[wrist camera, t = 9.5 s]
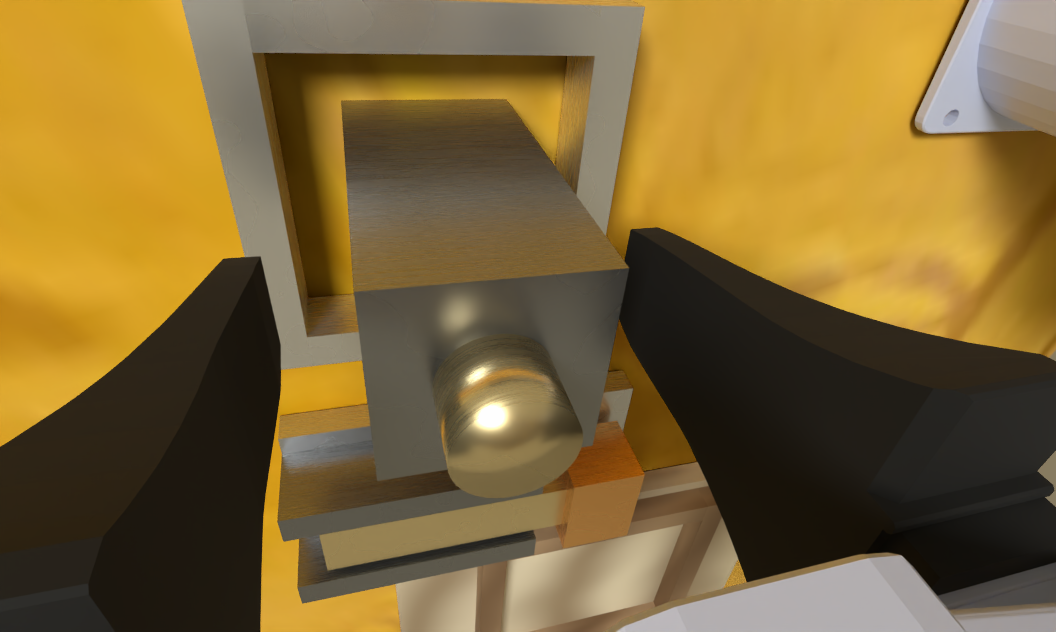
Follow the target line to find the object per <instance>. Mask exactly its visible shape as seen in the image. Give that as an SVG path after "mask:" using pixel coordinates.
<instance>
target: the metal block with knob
mask: <svg viewBox="0 0 1056 632" xmlns="http://www.w3.org/2000/svg"><path fill="white" fill-rule="evenodd" d="M341 106H342V121H343V137H344V152H345V167H346V182H347V197H348V212H349V227H350V242H351V258H352V273H353V288H354V298H355V306H356V314H357V322H358V330H359V338H360V346H361V354H362V362H363V371H364V379H365V387H366V395H367V403H368V411H369V419H370V427H371V435H372V443H373V451H374V459H375V467H376V476H377V481H381V480H387V479H393V478H399V477H405V476H411V475H417V474H423V473H429V472H436V471H442V470H448V473H449V476H450V478H451V479H452V481H453V482H454V483H455V485H456V486H458V487H459V488H460V489H461V490H463V491H465V492H467V493H469V494H472V495H475V496H479V497H485V498H507V497H514V496H518V495H522V494H525V493H529V492H531V491H534V490H537V489H539V488H541V487H543V486H545V485H547V484H548V483H550V482H552V481H553V480H555V479H556V478H558V477H559V476H560V475H561V474H563V473H564V472H565V471H566V470H567V469H568V468H569V467H570V466H571V465H572V463H573V462H574V461H575V459H576V458H577V456H578V454H579V452H580V450H581V447H587V446H593V441H594V436H595V431H596V426H597V422H598V417H599V412H600V407H601V402H602V397H603V393H604V388H605V383H606V378H607V373H608V368H609V364H610V359H611V354H612V349H613V344H614V339H615V335H616V330H617V325H618V320H619V315H620V310H621V306H622V301H623V296H624V291H625V286H626V281H627V277H628V272H629V267H628V266H627V264H626V263H625V262H624V260H623V259H622V257H621V256H620V255H619V253H618V252H617V251H616V249H615V248H614V246H613V245H612V244H611V242H610V241H609V240H608V238H607V237H606V236H605V234H604V233H603V231H602V230H601V229H600V227H599V226H598V225H597V223H596V222H595V220H594V219H593V218H592V216H591V215H590V214H589V212H588V211H587V209H586V208H585V207H584V205H583V204H582V203H581V201H580V200H579V199H578V197H577V196H576V194H575V193H574V192H573V190H572V189H571V188H570V186H569V185H568V183H567V182H566V181H565V179H564V178H563V177H562V175H561V174H560V173H559V171H558V170H557V168H556V167H555V166H554V164H553V163H552V162H551V160H550V159H549V157H548V156H547V155H546V153H545V152H544V151H543V149H542V148H541V146H540V145H539V144H538V142H537V141H536V140H535V138H534V137H533V136H532V134H531V133H530V131H529V130H528V129H527V127H526V126H525V125H524V123H523V122H522V120H521V119H520V118H519V116H518V115H517V114H516V112H515V111H514V109H513V108H512V107H511V105H510V104H509V103H508V101H507V100H506V99H477V100H361V101H341Z"/></svg>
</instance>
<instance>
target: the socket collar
mask: <svg viewBox="0 0 1056 632" xmlns="http://www.w3.org/2000/svg"><path fill="white" fill-rule="evenodd" d="M182 4H183V8H184V12H185V16H186V20H187V24H188V28H189V32H190V36H191V40H192V44H193V48H194V52H195V56H196V60H197V64H198V68H199V72H200V77H201V81H202V85H203V89H204V93H205V97H206V101H207V105H208V109H209V113H210V117H211V121H212V125H213V129H214V133H215V137H216V141H217V145H218V149H219V153H220V157H221V162H222V166H223V170H224V174H225V178H226V182H227V186H228V190H229V194H230V198H231V202H232V206H233V210H234V214H235V218H236V222H237V226H238V230H239V234H240V238H241V242H242V247H243V251H244V255H245V257H255V256H261V260H262V265H263V269H264V274H265V278H266V282H267V287H268V291H269V295H270V300H271V304H272V309H273V313H274V317H275V322H276V326H277V330H278V335H279V339H280V344H281V370H282V369H291V368H299V367H308V366H317V365H325V364H334V363H342V362H351V361H360V360H362V354H361V346H360V338H359V330H358V322H357V314H356V306H355V298H354V294H348V295H336V296H325V297H314V298H308V293H307V287H306V282H305V276H304V271H303V265H302V260H301V254H300V249H299V243H298V238H297V232H296V227H295V221H294V216H293V210H292V205H291V199H290V194H289V188H288V183H287V177H286V172H285V166H284V161H283V155H282V150H281V144H280V138H279V133H278V127H277V122H276V116H275V111H274V105H273V100H272V94H271V89H270V83H269V78H268V72H267V67H266V61H265V56H264V53H342V54H446V55H551V56H567V63H566V73H565V82H564V92H563V101H562V111H561V120H560V130H559V139H558V149H557V158H556V168H557V170H558V171H559V173H560V174H561V175H562V177H563V178H564V179H565V181H566V182H567V183H568V185H569V186H570V188H571V189H572V190H573V192H574V193H575V194H576V196H577V197H578V199H579V200H580V201H581V203H582V204H583V205H584V207H585V208H586V209H587V211H588V212H589V214H590V215H591V216H592V218H593V219H594V220H595V222H596V223H597V225H598V226H599V227H600V229H601V230H602V231H603V233H604V234H605V236H606V231H607V226H608V220H609V214H610V208H611V202H612V196H613V191H614V185H615V179H616V173H617V167H618V161H619V156H620V150H621V144H622V138H623V132H624V126H625V121H626V115H627V109H628V103H629V97H630V92H631V86H632V80H633V74H634V68H635V62H636V57H637V51H638V45H639V39H640V33H641V27H642V22H643V16H644V10H645V7H644V6H642V5H640V4H638V3H636V2H634V1H632V0H182Z"/></svg>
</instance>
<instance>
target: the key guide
mask: <svg viewBox="0 0 1056 632" xmlns="http://www.w3.org/2000/svg"><path fill="white" fill-rule="evenodd" d="M632 392H633V387H632V385H631V384H630V382H629V380H628V378H627V377H626V375H625V373H624V371H623V370H620V371H612V372H608V373H607V378H606V383H605V388H604V393H603V397H602V402H601V407H600V412H599V417H598V422H597V424H599V423H605V422H612V421H617V422H618V423H619V425H620V427H621V429H622V431H623V428H624V424H625V420H626V416H627V412H628V408H629V404H630V400H631V396H632ZM278 440H279V444H280V448H281V451H282V464H281V479H280V493H279V507H278V525H279V528H280V531H281V535H282V538H283V541H289V540H295V539H299V562H298V591H299V594H300V597H301V601H302V604H303V603H307V602H312V601H317V600H322V599H326V598H331V597H336V596H341V595H346V594H350V593H355V592H360V591H365V590H369V589H374V588H379V587H384V586H388V585H393V584H398V583H403V582H408V581H412V580H417V579H422V578H427V577H431V576H436V575H441V574H446V573H450V572H455V571H460V570H465V569H470V568H474V567H479V566H484V565H489V564H493V563H498V562H503V561H508V560H512V559H517V558H522V557H527V556H532V555H534V551H535V544H536V537H535V534H534V531H533V530H530V531H525V532H520V533H515V534H510V535H505V536H500V537H495V538H490V539H485V540H480V541H475V542H470V543H465V544H460V545H455V546H450V547H445V548H440V549H435V550H430V551H425V552H419V553H414V554H409V555H404V556H399V557H394V558H389V559H384V560H379V561H374V562H369V563H364V564H359V565H354V566H349V567H344V568H339V569H334V570H329V571H328V570H327V566H326V562H325V557H324V553H323V549H322V545H321V541H320V536H319V535H322V534H327V533H333V532H338V531H344V530H349V529H355V528H360V527H366V526H371V525H376V524H382V523H387V522H393V521H398V520H404V519H409V518H415V517H420V516H425V515H431V514H436V513H442V512H447V511H453V510H458V509H464V508H469V507H475V506H480V505H485V504H491V503H496V502H502V501H507V500H513V499H518V498H524V497H529V496H534V495H540V494H543V487H544V486H543V487H541V488H539V489H537V490H534V491H531V492H529V493H525V494H522V495H518V496H514V497H507V498H485V497H479V496H475V495H472V494H469V493H467V492H465V491H463V490H461V489H460V488H459V487H458V486H456V485H455V483H454V482H453V481H452V479H451V478H450V476H449V473H448V470H442V471H436V472H429V473H423V474H417V475H411V476H405V477H399V478H393V479H387V480H381V481H377V476H376V467H375V459H374V451H373V443H372V435H371V427H370V419H369V411H368V404H365V405H358V406H351V407H343V408H336V409H328V410H321V411H313V412H306V413H298V414H291V415H283V416H280V423H279V436H278Z"/></svg>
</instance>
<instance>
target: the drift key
mask: <svg viewBox="0 0 1056 632" xmlns="http://www.w3.org/2000/svg"><path fill="white" fill-rule="evenodd" d="M644 476H645V474H644V472H643V470H642V468H641V466H640V464H639V462H638V460H637V459H636V457H635V455H634V453H633V451H632V449H631V447H630V445H629V443H628V441H627V439H626V437H625V435H624V433H623V431H622V429H621V427H620V425H619V423H618V422H617V421H612V422H605V423H599V424H597V426H596V431H595V436H594V441H593V446H587V447H581V450H580V452H579V454H578V456H577V458H576V459H575V461H574V462H573V463H572V465H571V466H570V467H569V468H568V469H567V470H566V471H565V472H564V473H563V474H561V475H560V476H559V477H558V478H556V479H555V480H553V481H552V482H550V483H548V484H547V485H545V486H544V487H543V494H540V495H534V496H529V497H524V498H518V499H513V500H507V501H502V502H496V503H491V504H485V505H480V506H475V507H469V508H464V509H458V510H453V511H447V512H442V513H436V514H431V515H425V516H420V517H415V518H409V519H404V520H398V521H393V522H387V523H382V524H376V525H371V526H366V527H360V528H355V529H349V530H344V531H338V532H333V533H327V534H322V535H319V536H320V541H321V545H322V549H323V553H324V557H325V562H326V566H327V570H328V571H329V570H334V569H339V568H344V567H349V566H354V565H359V564H364V563H369V562H374V561H379V560H384V559H389V558H394V557H399V556H404V555H409V554H414V553H419V552H425V551H430V550H435V549H440V548H445V547H450V546H455V545H460V544H465V543H470V542H475V541H480V540H485V539H490V538H495V537H500V536H505V535H510V534H515V533H520V532H525V531H530V530H535V529H540V528H545V527H550V526H555V527H556V529H557V532H558V535H559V538H560V541H561V544H562V547H563V548H568V547H573V546H578V545H583V544H587V543H592V542H597V541H602V540H606V539H611V538H616V537H621V536H625V535H627V533H628V530H629V527H630V523H631V520H632V517H633V513H634V510H635V507H636V503H637V500H638V497H639V493H640V490H641V486H642V483H643V480H644Z"/></svg>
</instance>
